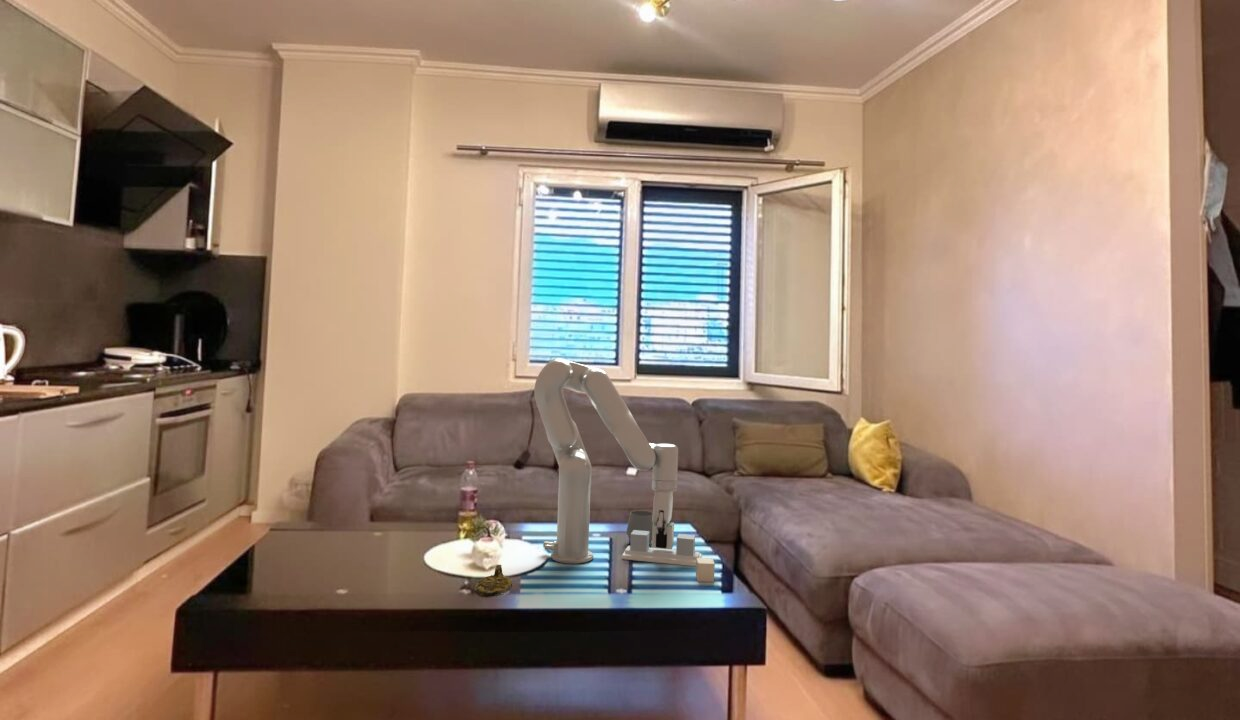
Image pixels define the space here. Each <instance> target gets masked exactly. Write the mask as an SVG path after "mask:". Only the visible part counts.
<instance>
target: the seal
mask: <svg viewBox="0 0 1240 720" xmlns="http://www.w3.org/2000/svg"><path fill="white" fill-rule="evenodd" d="M502 567H503V566H502V564H496V566H495V567H494V574H491V575H489V576H486V577H485V576H484V577H483V578H481V579H479V580H478V581H477V582H475V585H474V587H473V588H474V591H475V592H476V593H477V594H478V595H480V596H482V597H489V596H490V595H492V596H496V595H495V594H500V595H502V594H501V593H503V594H505V593H507V592H509V591H510V590H511V589H512V587H513V581H512V579H511V578H510V577H509V576H506V575H504V573H503V568H502ZM490 597H491V596H490Z"/></svg>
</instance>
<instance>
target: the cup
mask: <svg viewBox="0 0 1240 720" xmlns="http://www.w3.org/2000/svg"><path fill="white" fill-rule="evenodd" d="M628 517H629V518H628V522H627V527H626V535H627V537H628V539H629V540H630V537H631V533H632V531H633V530H640V531H650V533H649V545H650V544H652V525H653V523H652V518H653V511H648V510H631V511H630V513H629V516H628Z"/></svg>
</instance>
